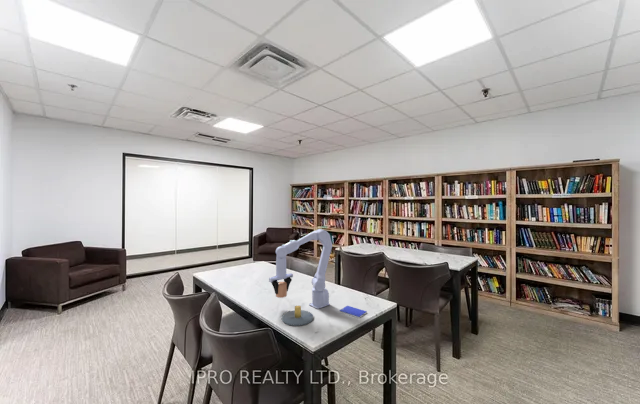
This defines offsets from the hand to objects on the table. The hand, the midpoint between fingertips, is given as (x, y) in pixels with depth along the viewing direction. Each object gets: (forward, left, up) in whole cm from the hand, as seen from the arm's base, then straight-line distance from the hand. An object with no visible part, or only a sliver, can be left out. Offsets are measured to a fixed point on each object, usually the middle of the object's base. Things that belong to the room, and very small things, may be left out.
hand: (281, 292), depth 145 cm
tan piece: (0, 0, -2) cm, 2 cm away
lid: (0, +16, -9) cm, 18 cm away
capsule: (0, +16, -8) cm, 18 cm away
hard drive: (-27, +29, -10) cm, 41 cm away
